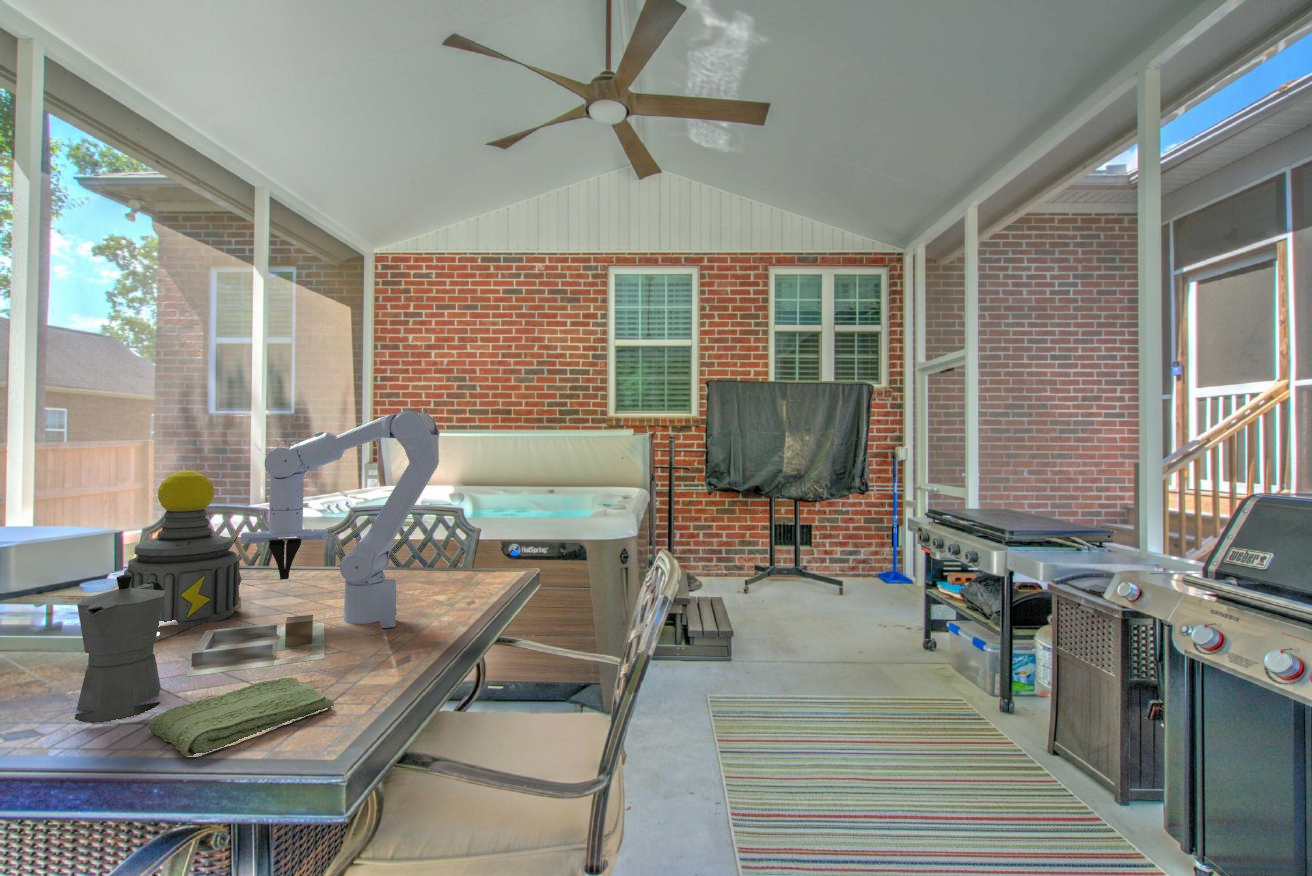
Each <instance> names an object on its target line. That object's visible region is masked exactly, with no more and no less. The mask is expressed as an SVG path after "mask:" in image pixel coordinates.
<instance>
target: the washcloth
mask: <svg viewBox="0 0 1312 876" xmlns="http://www.w3.org/2000/svg"><path fill="white" fill-rule="evenodd" d="M331 706H333V707H334V706H335V703H334V701H333V700H332V698H329V697H327V696H326V695H325V694H323V693H321V692H319V691H318V690H316V689H315V688H314V687H313V685H311V684H309V683H302V682H301V681H299V679H298V678H297V677H291V676H288V677H281V678H278V679H270V680H264V681H261V682H257V683H254V684H250V685H248V686H244V687H243V688H240V689H234V690H232V691H228V692H226V693H224V694H221V695H218V696H213V697H208V698H204V699H201V700H194V701H193V702H190V703H187V704H183V705H179V706H178V705H177V706H174V707H172V708H168V709H167V710H166V711H165V712H162V713H159V714H158V715H155V716H154V717H153V718H152V719H151V720H150V721H149V722H148V730H149V732H150V733H152V734H153V733H154V734H153V735H154V736H157V737H159V736H160V737H159V738H161V739H162V741H164V740H166V741H170V742H169V743H171V744H172V745H173V744H174V745H173V746H175V750H176V751H177V750H179V751H178V752H180V753H181V755H183V756H184V755H185V756H193V755H194V754H196V753H206V752H209V751H212V750H213V749H217V748H220V747H224V746H225V745H227V744H231V743H233V742H236V741H238V740H239V739H242V738H244V737H248V736H250V735H253V734H256V733H257V732H262V730H266V729H268V728H271V727H274V726H277V725H279V724H282V723H285V722H287V721H290V720H292V719H297V718H299V717H304V716H306V715H308V714H311V713H314V712H316V711H318V710H322V709H325V708H330V707H331ZM330 709H331V708H330ZM166 741H164V742H166ZM185 756H184V757H185Z"/></svg>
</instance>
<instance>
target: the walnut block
mask: <svg viewBox="0 0 1312 876" xmlns="http://www.w3.org/2000/svg"><path fill="white" fill-rule="evenodd" d="M313 618H314V614H307V615H299V616H298V615H295V616H287V617H286V621H285V627H286V631H285V647H289V646H298V645H306V644H312V632H313V624H314V619H313Z"/></svg>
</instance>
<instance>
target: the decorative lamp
mask: <svg viewBox="0 0 1312 876" xmlns="http://www.w3.org/2000/svg"><path fill="white" fill-rule="evenodd" d="M214 496H215V488H214V486H213V483H212V481H211V480H210V479H209V478H208V477H207V476H206V475H205V474H202V473H201V472H198V471H195V470H194V471H193V470H181V471H176V472H174V473H171V474H170V475H168V476H167V477H166V478H164V479H163V480H162V482H161V483H160V485H159V486H158V489H157V499H158V502H159V503H160V505H161V507H162V508H163V509H164V510H166V511H165V512H164V516H163V517H164V518H165V519H164V520H161V521H162V522H161V524H160V528H161V529H160V530H159V531H158V533H157V535H156V537H155V538H150V539H147V540H145V541H142V542H140V543H138V544H135V546H134V554H135V555H137V556H136V557H133V558H131V559H130V560H128V562H127V568H126V569H124V572H123V575H130V576H132V578H131V581H130V585H129V588H136V587H138V586H140V585H145V584H147V583H149V582H152V581H156V582H158V583H159V584H160V585H161V587H162V588H163V591H166V592H165V596H164V601H163V606H162V611H161V616H160V621H164V622H167V621H172V620H176V621H177V622H178V625H177V626H176V627H178V626H187V625H188V626H189V625H198V624H207V623H214V622H216V623H217V622H221V621H224V620H226V619H228V618H230V617H231V616H233V614H234V613H235V612H236V607H237V606H238V605H239V602H240V590H239V589H240V585H241V582H242V576H241V573H240V567H241V566H240V561H239V560H238V555H237V553H236V552H235V551H233V550H230V548H232V546H233V542H232V541H233V540H232V539H230V538H228V537H226V536H223V535H220V534H219V535H217V534H213V530H212V528H210V527H209V526H210V521H209V519H208V518H207V515H208V514H207V510H206V509H207V508H208V506H209V505H211V503H212V501H213V499H214Z"/></svg>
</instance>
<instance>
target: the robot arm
mask: <svg viewBox="0 0 1312 876" xmlns="http://www.w3.org/2000/svg"><path fill="white" fill-rule="evenodd" d="M440 434H441V433H440V430H439V428H438V425H437V423H436V421H435V419H434V418H433V417H432V416H431V415H429V414H428V413H425V412H416V411H413V410H404V411H401V412H398V413H392V414H389V415H385V416H383V417H379V418H377V419H374V420H372V421H370V422H368V423H365V424H362V425H360V426H357V427H355V428H352V429H350V430H348V431H345V432H343V433H341V434H338V435H336V434H334V433H331V432H329V431H328V432H325V433H324V431H317V432H315V433H314V435H313V436H314V437H312V438H308V439H306V440H303V441H300V442H299V441H294V442H291V443H290V447H283V446H282V447H275V448H274V449H272V450H271V451H270V452H269V453H267V455H266V457H265V458H264V468H265V470H266V472H267V473H268V474H269V476H270V477H269V478H270V479H269V506H268V507H269V508H268V513H269V514H268V530H261V531H248V532H241V533H240V545H247V544H257V543H268V548H269V551H270V553H271V554H272V556H273V558H274V560H275V563H276V565H277V569H278V573H279V580H281V581H282V580H289V578H290V571H291V567H292V564H293V563H294V559H295V557H296V554H297V552H299V549H300V546H301V545H302V541H316V540H317V541H320V540H321V541H327V540H328V533H329V532H328V530H329V529H328V528H323V529H322V528H320V529H318V528H317V529H315V528H314V529H311V528H310V529H304V527H303V526H304V525H303V524H304V522H303V521H304V489H305V487H304V486H305V485H304V482H305V481H304V480H305V474H306V473H307V472H308V471H311V470H314V469H316V468H319V467H323V466H325V465H328V464H330V463H333V462H336V461H337V460H340V459H342V457H343V454H344V453H345V451H346V450H350V449H352V448H355V447H358V446H361V445H363V444H367V443H370V442H373V441H377V440H380V439H382V438H388V439H396V441H397V442H398V443H399V444H400V445H401V446H402V448H403V449H404V452H405V454H406V457H407V460H408V465H407V467H406V468H405V469H404V471H403V473H402V475H401V476H400V477H399V480H398V481H397V483H396V484H395V486H394V488H393V490H392V491H391V493H390V495H389V497H388V498H387V500H385V503H384V505H383V506H382V508H381V510H380V512H379V513H378V514H377V517H376V518H375V519H374V521H373V523H372V525H371V526H370V528H369V530H368V532H367V533H366V534H365V535H364V536H363V537H362V538H361V539H360V540H359V541H358V543H356V545H355V547H354V548H353V549H352V550H351V551H350V552H348V553H346V554H345V555H344V556H343V558H342V559H341V561H340V565H339V570H340V575H341V576H342V577H343V579H344V594H343V595H344V596H343V597H344V598H343V599H344V601H343V602H344V603H343V623H345V624H346V623H347V624H352V625H361V624H370V623H375V622H379V624H380V628H381V629H389V628H395V627H396V626H397V624H396V616H397V611H398V610H397V584H396V579H395V578H386V575H385V573H384V570H385V569H386V568H387V567H388V565H389V562H390V553H391V552H392V549H393V548H394V541H395V538H396V537H397V535H398V534H399V532H400V530H401V529H402V527H403V525H404V523H406V520H407V518H408V517H409V515H410V513H412V510H413V509H414V507H415V505H416V504H417V502H418V500H419V498H420V496H421V495H422V493H423V491H424V490H425V488H426V487H427V485H428V483H429V481H430V480H431V478H432V476H433V474H435V472H436V470H437V468H438V466H439V463H440V459H439V457H440V456H439V450H440V449H439V437H440Z"/></svg>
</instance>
